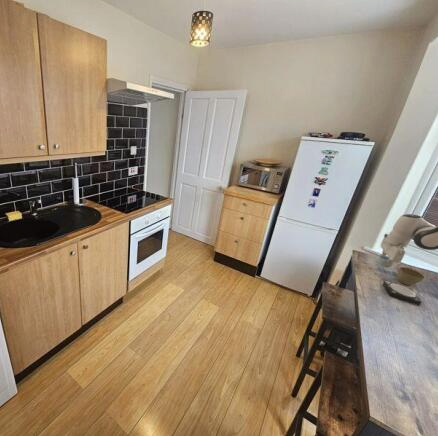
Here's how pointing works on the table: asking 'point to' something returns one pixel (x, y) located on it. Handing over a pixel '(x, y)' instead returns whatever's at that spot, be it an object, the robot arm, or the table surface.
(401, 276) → the flower pot
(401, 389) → the table surface
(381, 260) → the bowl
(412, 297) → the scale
